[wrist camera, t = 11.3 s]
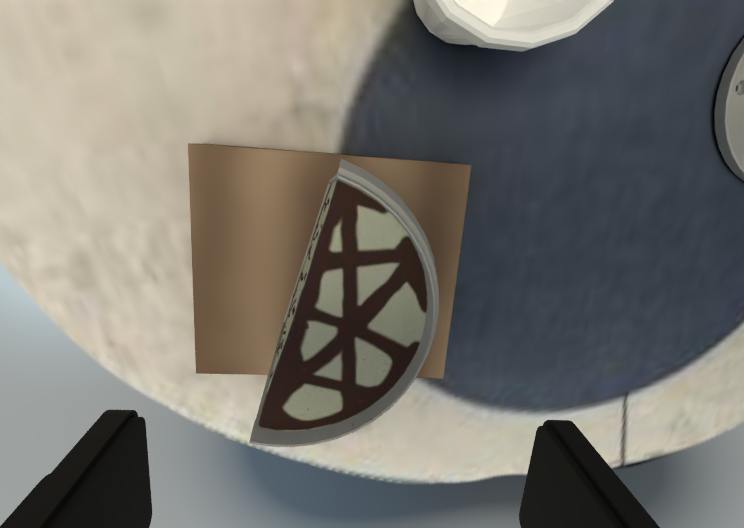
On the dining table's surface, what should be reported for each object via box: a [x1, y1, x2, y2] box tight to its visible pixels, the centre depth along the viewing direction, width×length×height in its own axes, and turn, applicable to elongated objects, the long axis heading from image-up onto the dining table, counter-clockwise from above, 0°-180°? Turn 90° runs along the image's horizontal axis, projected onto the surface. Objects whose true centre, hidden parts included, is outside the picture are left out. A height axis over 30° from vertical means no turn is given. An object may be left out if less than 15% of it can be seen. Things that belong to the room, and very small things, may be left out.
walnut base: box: [188, 144, 472, 378], centre depth 28 cm, size 16×14×3 cm
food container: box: [250, 159, 439, 447], centre depth 21 cm, size 12×6×10 cm, turn 160°
